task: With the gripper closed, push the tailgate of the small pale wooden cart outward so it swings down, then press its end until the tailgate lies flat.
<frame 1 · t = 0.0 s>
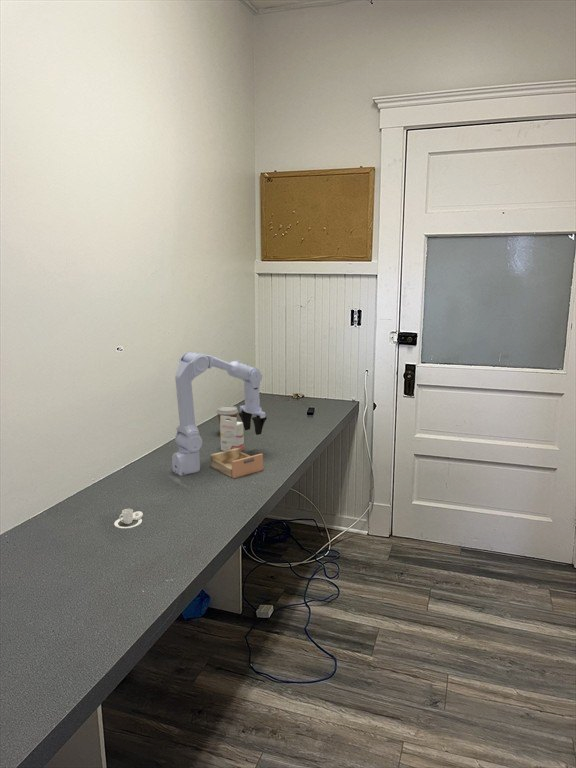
hand: (252, 432, 219), 10 cm above the table, tool pointing down, fingers open, 7 cm apart
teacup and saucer: (138, 524, 166), on the table
tailgate: (248, 465, 199), point 4 cm above the table, hinge at 0.0°
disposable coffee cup: (228, 434, 250), on the table
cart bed: (236, 471, 206), on the table
ink cartridge box: (232, 450, 229), on the table
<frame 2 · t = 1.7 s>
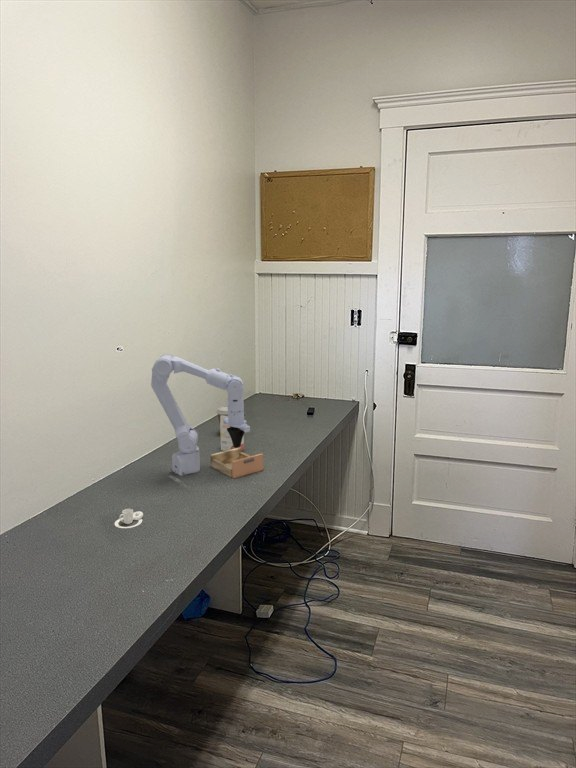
hand: (237, 446, 203), 10 cm above the table, tool pointing down, fingers closed
nothing on the table moved.
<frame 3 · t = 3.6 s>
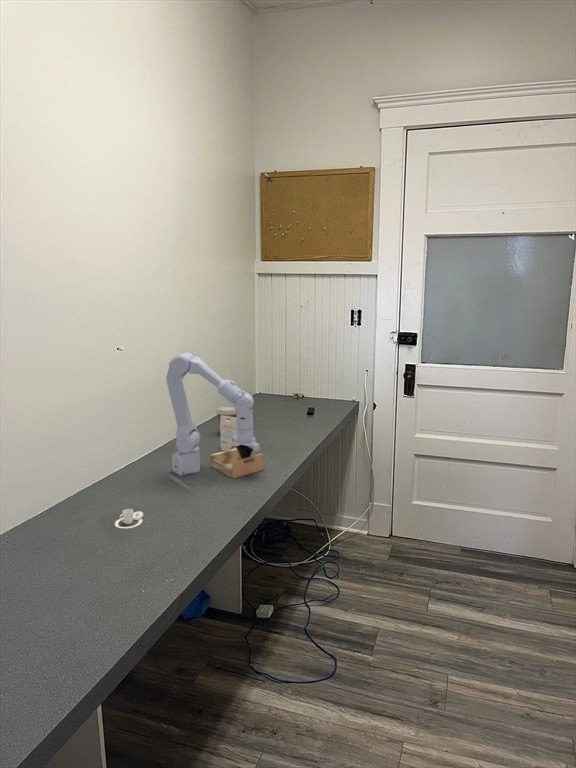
hand: (245, 464, 200), 4 cm above the table, tool pointing down, fingers closed, pressing on tailgate
tailgate: (248, 465, 199), point 5 cm above the table, hinge at 0.7°, touching gripper
everything else where it was.
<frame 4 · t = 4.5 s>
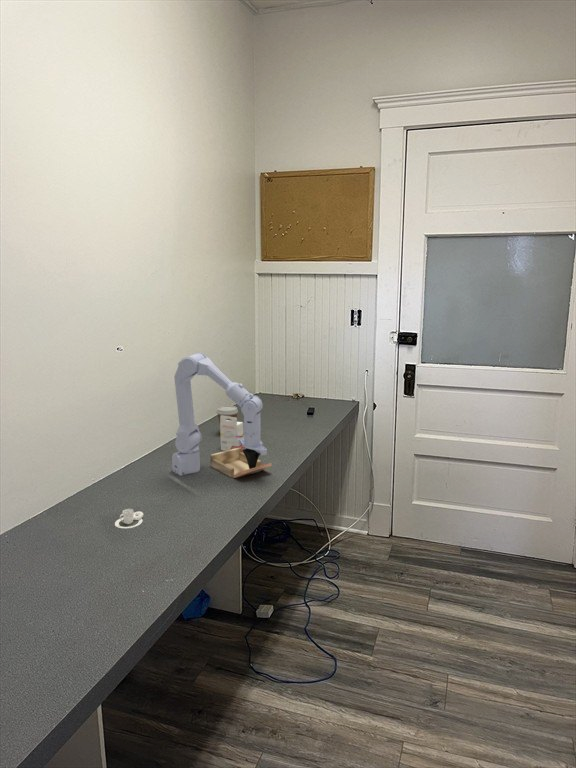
hand: (252, 468, 197), 4 cm above the table, tool pointing down, fingers closed, pressing on tailgate
tailgate: (252, 471, 197), point 3 cm above the table, hinge at 58.8°, touching gripper
everything else where it was.
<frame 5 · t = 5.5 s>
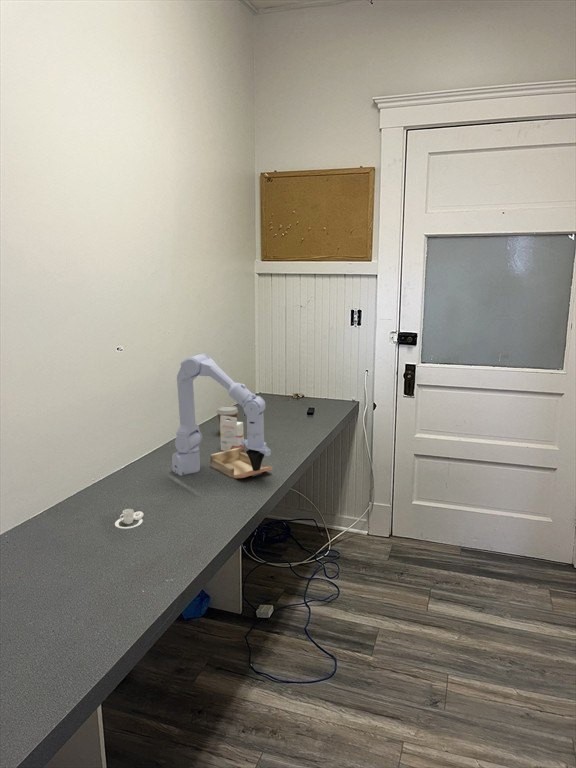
hand: (256, 470, 195), 4 cm above the table, tool pointing down, fingers closed
tailgate: (253, 473, 197), point 3 cm above the table, hinge at 70.6°, touching gripper
everything else where it was.
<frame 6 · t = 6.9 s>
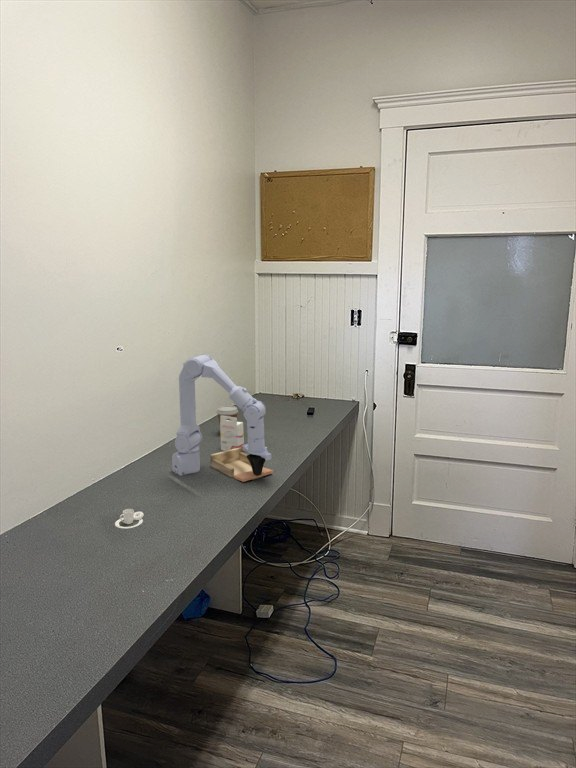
hand: (257, 474, 195), 3 cm above the table, tool pointing down, fingers closed, pressing on tailgate
tailgate: (253, 475, 197), point 2 cm above the table, hinge at 84.4°, touching gripper
everything else where it was.
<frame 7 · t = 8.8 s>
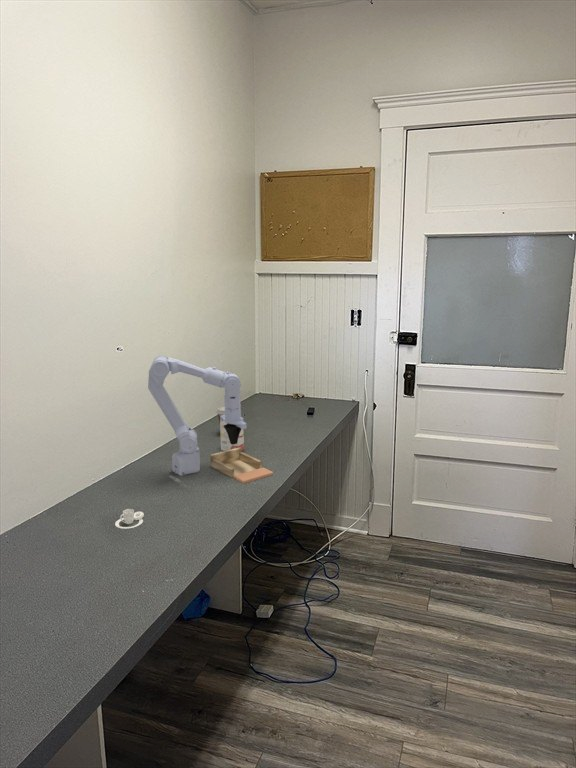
hand: (233, 443, 204), 10 cm above the table, tool pointing down, fingers closed
tailgate: (253, 476, 197), point 2 cm above the table, hinge at 91.4°
everything else where it was.
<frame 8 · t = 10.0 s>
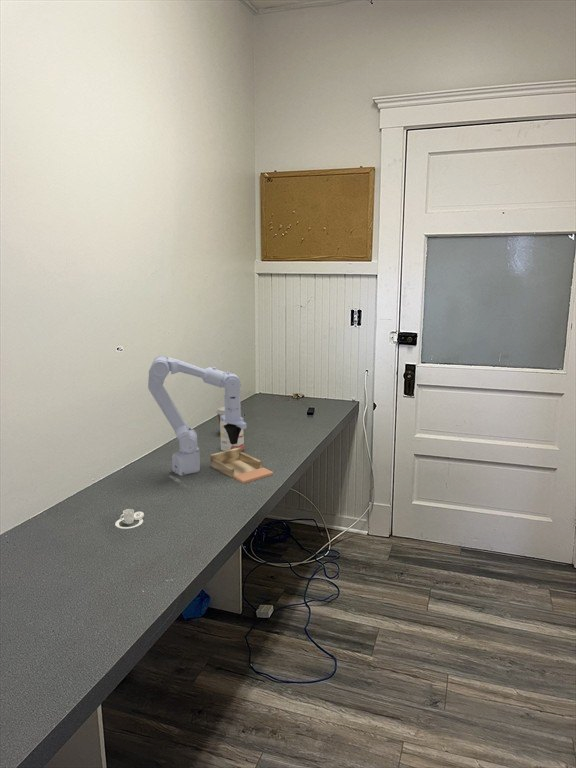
hand: (233, 443, 204), 10 cm above the table, tool pointing down, fingers closed
nothing on the table moved.
at the end: tailgate at +91° (first picture: +0°); ink cartridge box moved 0.2 cm from its start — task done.
